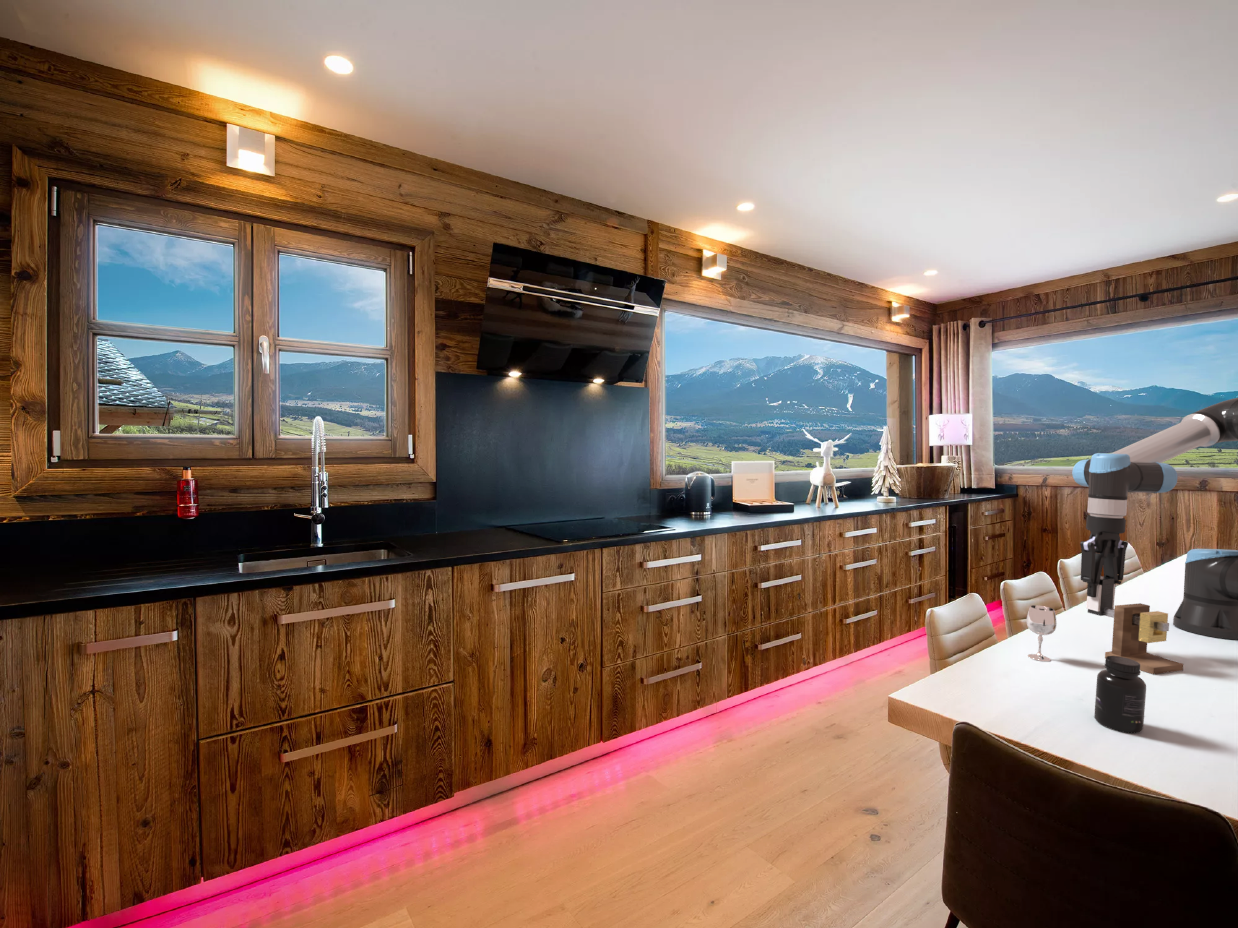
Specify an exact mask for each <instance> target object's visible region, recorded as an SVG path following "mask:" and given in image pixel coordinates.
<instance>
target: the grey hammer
mask: <svg viewBox="0 0 1238 928" xmlns="http://www.w3.org/2000/svg"><path fill="white" fill-rule="evenodd" d="M1099 585H1102V590H1101V605H1100V611H1094V610H1090V609H1087V613H1088V614H1092V615H1095V616H1100V617H1102V616H1103V617H1105V616H1106V617H1108V618H1113V619H1114V610H1115V608H1114V609H1113V608H1112V605H1113V591H1114V579H1113V578H1108V577H1104V575H1103V576H1102V575H1101V577H1100V582H1099ZM1132 623H1134V624H1138V625H1140V615H1136V614H1133V616H1132ZM1154 629H1156V630H1160V631H1163V632H1164V631H1167V632H1169V631H1170V630H1169V629H1170V623H1169V622H1168V623H1167V622H1163V621H1158V622H1154Z"/></svg>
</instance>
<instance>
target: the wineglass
mask: <svg viewBox="0 0 1238 928" xmlns="http://www.w3.org/2000/svg"><path fill="white" fill-rule="evenodd" d="M1056 615H1057V614H1056V611H1055V609H1054V608H1053V607H1049V606H1044V605H1036V604H1034V605H1030V606H1029V609H1028V612H1027V615H1026V625H1027V626H1026V627H1027V628H1028V630H1030V631H1031V632H1032V633H1034V634H1037V635H1038V636H1037V641H1038V651H1037V653H1031V654H1028V655H1027V657H1028V658H1029V657H1030V659H1032V660H1034V661H1040V662H1051V661H1052V660H1051V659H1052V658H1050V657H1048V656H1045V655H1043V654H1042V645H1043V644H1042V643H1043V640H1044V638H1043V637H1044V636H1048V635H1052V634H1053V633H1054V632H1055V631H1056V629H1057V624H1058V623H1057V616H1056Z"/></svg>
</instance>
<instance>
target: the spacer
mask: <svg viewBox="0 0 1238 928" xmlns="http://www.w3.org/2000/svg"><path fill="white" fill-rule="evenodd" d="M1168 619H1169V613H1167V612H1163V611H1159V610H1156V611H1155V610H1154V611H1149V612H1143V613H1140V625H1139V640H1140V641H1143V642H1146V643H1147V644H1154V643H1160V642H1167V635H1168V634H1167V633H1168V631H1164V632H1163V631H1160V630H1156V629H1154V622H1158V621H1163V622H1167V623H1169V621H1168Z"/></svg>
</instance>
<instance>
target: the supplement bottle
mask: <svg viewBox="0 0 1238 928" xmlns="http://www.w3.org/2000/svg"><path fill="white" fill-rule="evenodd" d="M1104 668H1105V669H1103V670H1100V671H1099V672H1098V673H1097V675H1096V686H1095V687H1096V688H1095V698H1094V699H1095V702H1094V716H1093V717H1094V719H1095V721H1096V722H1097V723H1098V724H1100V725H1101V726H1103V727H1105V728H1107V729H1109V730H1110V729H1111V730H1113V731H1115V732H1120V733H1125V734H1139V733H1142V731H1143V730H1144V722H1145V710H1146V697H1147V684H1146V682H1145V681H1144V680H1143V679H1142V678H1141V677H1139V676H1140V675H1141V673H1142V672H1141V670H1140V663H1138V662H1137V661H1134V660H1132V659H1128V658H1124V657H1119V656H1107V657H1106V658H1105V663H1104Z"/></svg>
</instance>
